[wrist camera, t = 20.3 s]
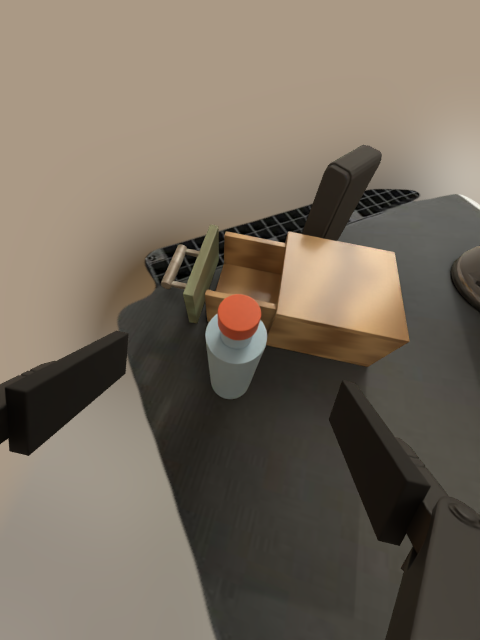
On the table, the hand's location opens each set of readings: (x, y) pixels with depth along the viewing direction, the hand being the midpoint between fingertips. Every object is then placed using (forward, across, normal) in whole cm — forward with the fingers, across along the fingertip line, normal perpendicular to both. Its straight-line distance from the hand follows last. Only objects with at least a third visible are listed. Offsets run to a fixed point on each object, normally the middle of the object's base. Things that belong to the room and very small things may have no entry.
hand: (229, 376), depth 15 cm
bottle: (+14, 0, -8) cm, 17 cm away
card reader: (+34, +10, +11) cm, 37 cm away
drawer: (+23, -3, +1) cm, 23 cm away
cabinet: (+23, +10, 0) cm, 26 cm away
